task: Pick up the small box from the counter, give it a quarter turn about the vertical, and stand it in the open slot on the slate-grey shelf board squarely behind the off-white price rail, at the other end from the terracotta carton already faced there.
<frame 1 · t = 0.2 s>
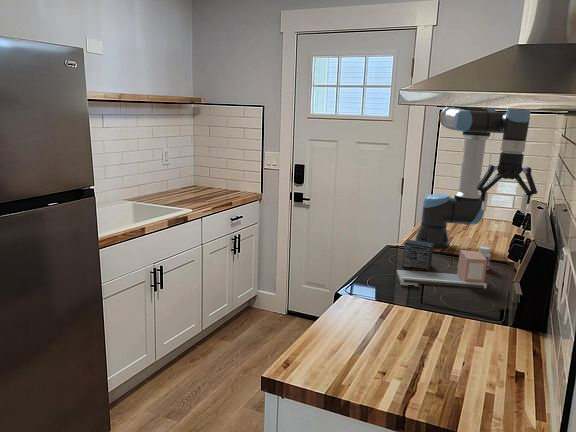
hand: (503, 211, 174), 28 cm above the countertop, fingers open, 13 cm apart
pill bottle: (481, 271, 194), on the countertop
shelf: (439, 281, 180), on the countertop
faced carton: (469, 280, 179), point 1 cm above the countertop, touching shelf
small box: (416, 268, 194), on the countertop
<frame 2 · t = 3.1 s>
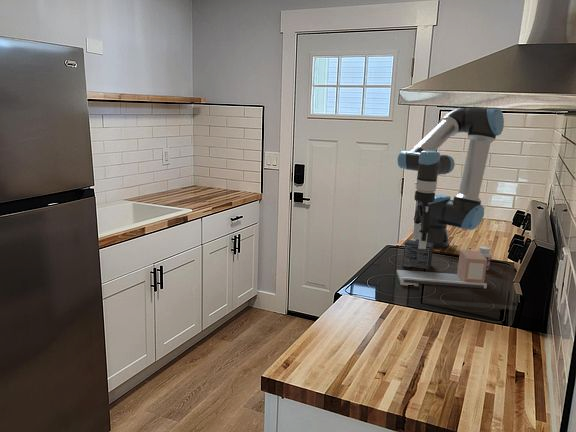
hand: (418, 243, 192), 10 cm above the countertop, fingers open, 13 cm apart
nothing on the countertop moved.
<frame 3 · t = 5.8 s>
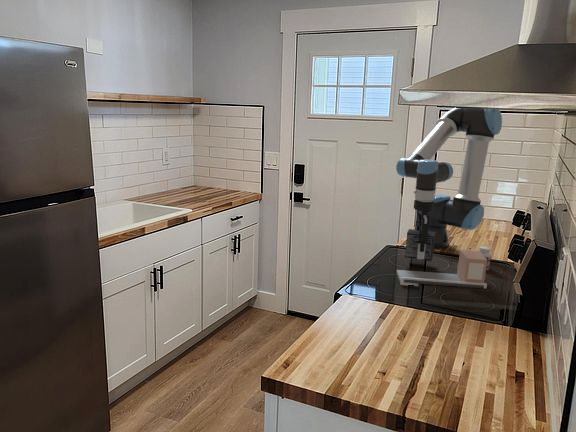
hand: (418, 255, 194), 5 cm above the countertop, fingers closed on small box, 7 cm apart
small box: (418, 257, 194), point 4 cm above the countertop, touching gripper
everything else where it was.
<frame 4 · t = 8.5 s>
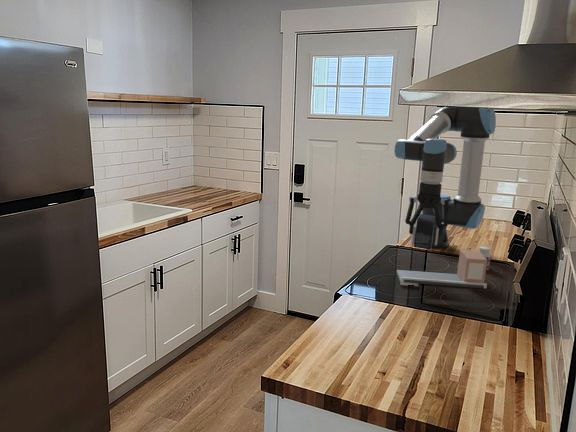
hand: (423, 243, 178), 14 cm above the countertop, fingers closed on small box, 7 cm apart
small box: (423, 245, 179), point 13 cm above the countertop, touching gripper
everything else where it was.
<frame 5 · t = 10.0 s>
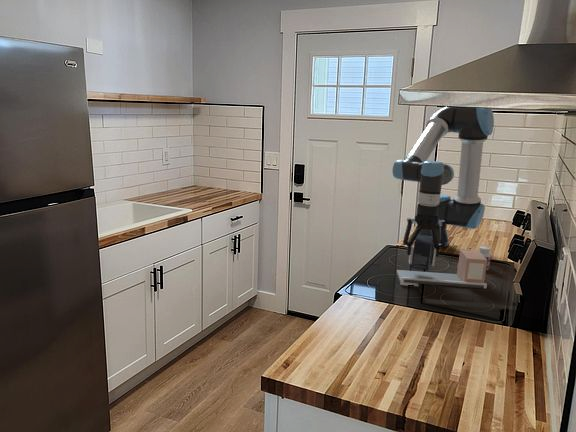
hand: (421, 263, 180), 6 cm above the countertop, fingers closed on small box, 7 cm apart
small box: (420, 265, 181), point 5 cm above the countertop, touching gripper
everything else where it was.
when the fingers open (3 cm above the countertop, at t = 11.3 s): small box stays where it is, resting on shelf.
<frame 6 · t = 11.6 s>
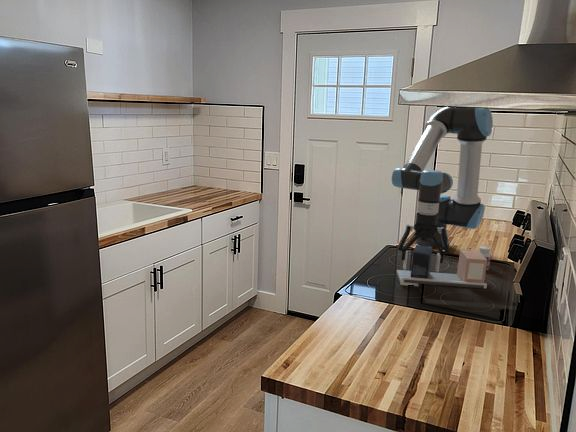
hand: (420, 269, 181), 4 cm above the countertop, fingers open, 11 cm apart
small box: (419, 276, 182), point 1 cm above the countertop, touching shelf
everything else where it was.
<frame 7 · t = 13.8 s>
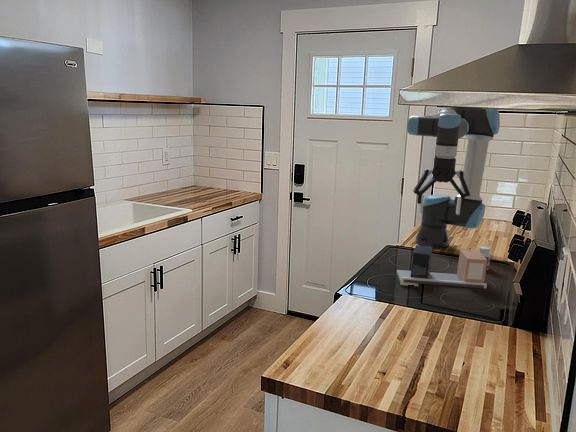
hand: (439, 213, 182), 24 cm above the countertop, fingers open, 13 cm apart
nothing on the countertop moved.
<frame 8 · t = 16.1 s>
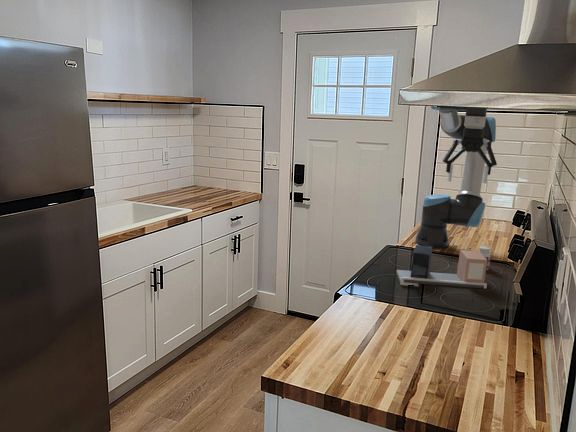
hand: (466, 182, 191), 35 cm above the countertop, fingers open, 13 cm apart
nothing on the countertop moved.
at the end: small box inside the target area on the shelf (0.2 cm from its centre), point 1.0 cm above the shelf's base; small box tilted 0°; small box moved 12.9 cm from its start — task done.
